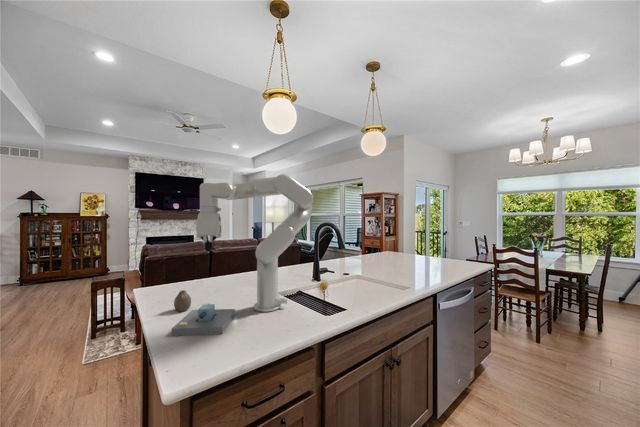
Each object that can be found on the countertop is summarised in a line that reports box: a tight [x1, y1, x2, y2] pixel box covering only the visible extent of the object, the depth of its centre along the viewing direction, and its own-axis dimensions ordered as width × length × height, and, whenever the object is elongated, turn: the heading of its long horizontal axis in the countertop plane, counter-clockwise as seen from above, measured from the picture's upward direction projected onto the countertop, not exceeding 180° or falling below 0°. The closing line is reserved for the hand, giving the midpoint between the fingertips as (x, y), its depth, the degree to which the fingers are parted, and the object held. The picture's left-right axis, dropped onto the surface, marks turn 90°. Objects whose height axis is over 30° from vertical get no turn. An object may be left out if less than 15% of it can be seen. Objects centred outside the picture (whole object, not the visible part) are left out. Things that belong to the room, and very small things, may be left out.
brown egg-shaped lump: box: [173, 289, 192, 313], centre depth 119 cm, size 7×7×9 cm
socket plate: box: [171, 308, 236, 336], centre depth 104 cm, size 18×18×3 cm
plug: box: [197, 303, 216, 322], centre depth 103 cm, size 4×8×7 cm, turn 4°
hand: (208, 250), depth 118 cm, fingers closed
